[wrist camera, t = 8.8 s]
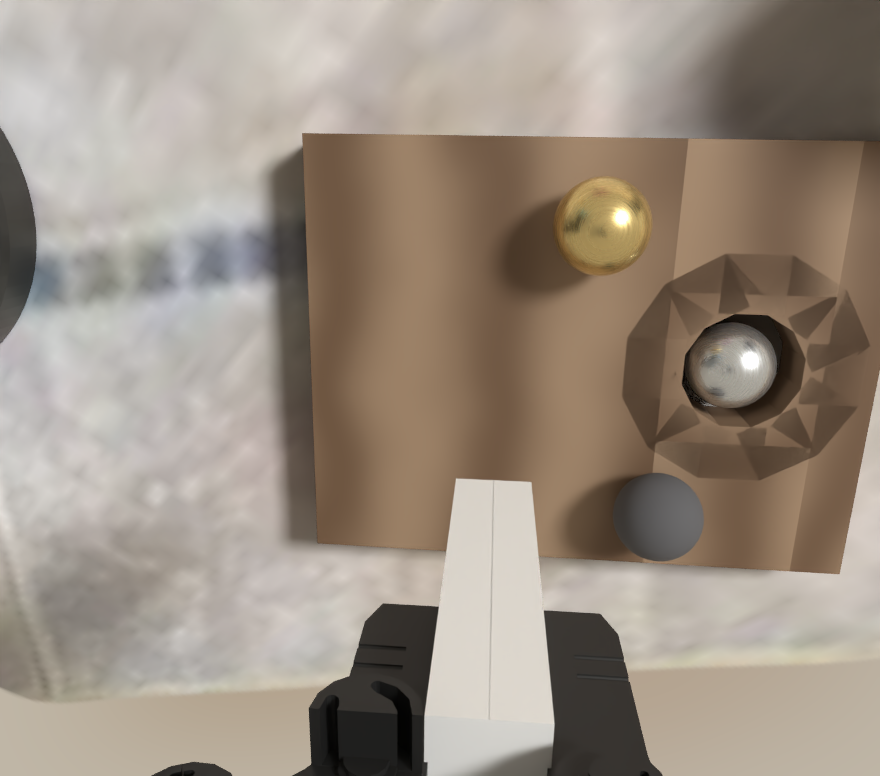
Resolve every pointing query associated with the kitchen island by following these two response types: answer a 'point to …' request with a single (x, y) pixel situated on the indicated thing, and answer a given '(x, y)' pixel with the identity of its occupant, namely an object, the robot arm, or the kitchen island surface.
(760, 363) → the steel ball
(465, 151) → the board
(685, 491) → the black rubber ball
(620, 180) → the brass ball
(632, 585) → the kitchen island surface
